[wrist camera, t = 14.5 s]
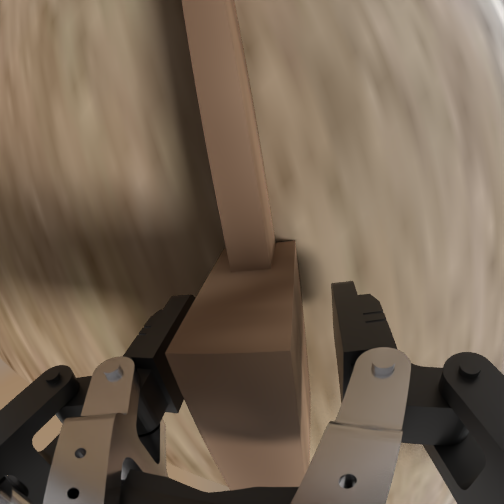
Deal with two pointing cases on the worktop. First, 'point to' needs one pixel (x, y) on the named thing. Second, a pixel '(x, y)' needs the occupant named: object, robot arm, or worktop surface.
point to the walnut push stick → (242, 286)
